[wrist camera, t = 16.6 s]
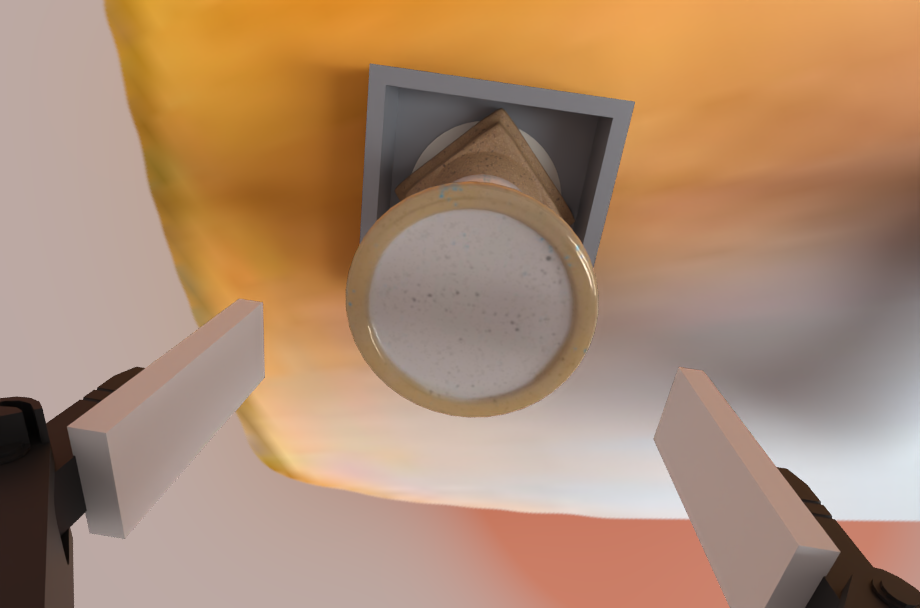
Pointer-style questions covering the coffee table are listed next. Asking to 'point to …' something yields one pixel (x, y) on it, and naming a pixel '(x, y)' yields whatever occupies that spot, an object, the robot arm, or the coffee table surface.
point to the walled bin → (464, 105)
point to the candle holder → (474, 280)
